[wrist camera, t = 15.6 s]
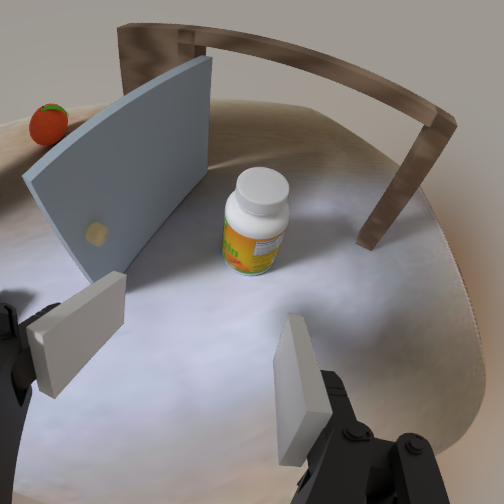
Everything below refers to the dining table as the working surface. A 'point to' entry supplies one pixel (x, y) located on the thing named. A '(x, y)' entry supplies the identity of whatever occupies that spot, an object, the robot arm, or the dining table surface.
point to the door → (126, 169)
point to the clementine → (48, 124)
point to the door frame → (198, 38)
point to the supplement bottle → (255, 221)
